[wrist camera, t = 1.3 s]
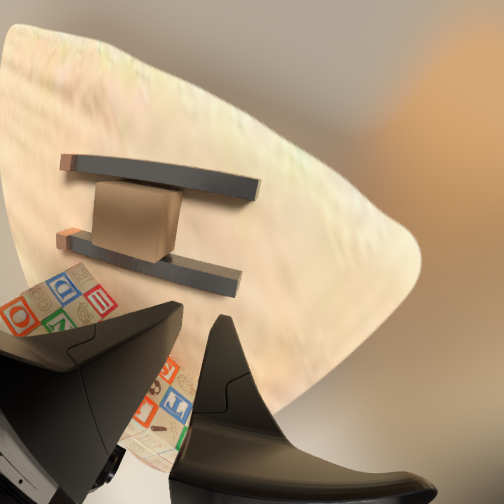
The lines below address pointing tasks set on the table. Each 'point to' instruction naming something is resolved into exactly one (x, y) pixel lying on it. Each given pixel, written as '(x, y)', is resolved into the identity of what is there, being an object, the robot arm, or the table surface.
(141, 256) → the walnut block
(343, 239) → the table surface
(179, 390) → the stack of blocks
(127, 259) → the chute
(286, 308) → the table surface
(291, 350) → the table surface
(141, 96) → the table surface
